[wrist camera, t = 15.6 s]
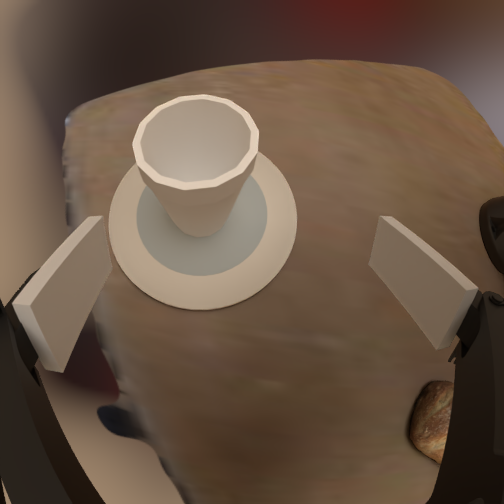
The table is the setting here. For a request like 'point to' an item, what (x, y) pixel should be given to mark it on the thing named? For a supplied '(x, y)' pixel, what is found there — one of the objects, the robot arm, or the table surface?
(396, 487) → the table surface
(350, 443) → the table surface
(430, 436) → the bread loaf
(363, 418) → the table surface
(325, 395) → the table surface
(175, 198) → the foam cup
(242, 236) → the plate
